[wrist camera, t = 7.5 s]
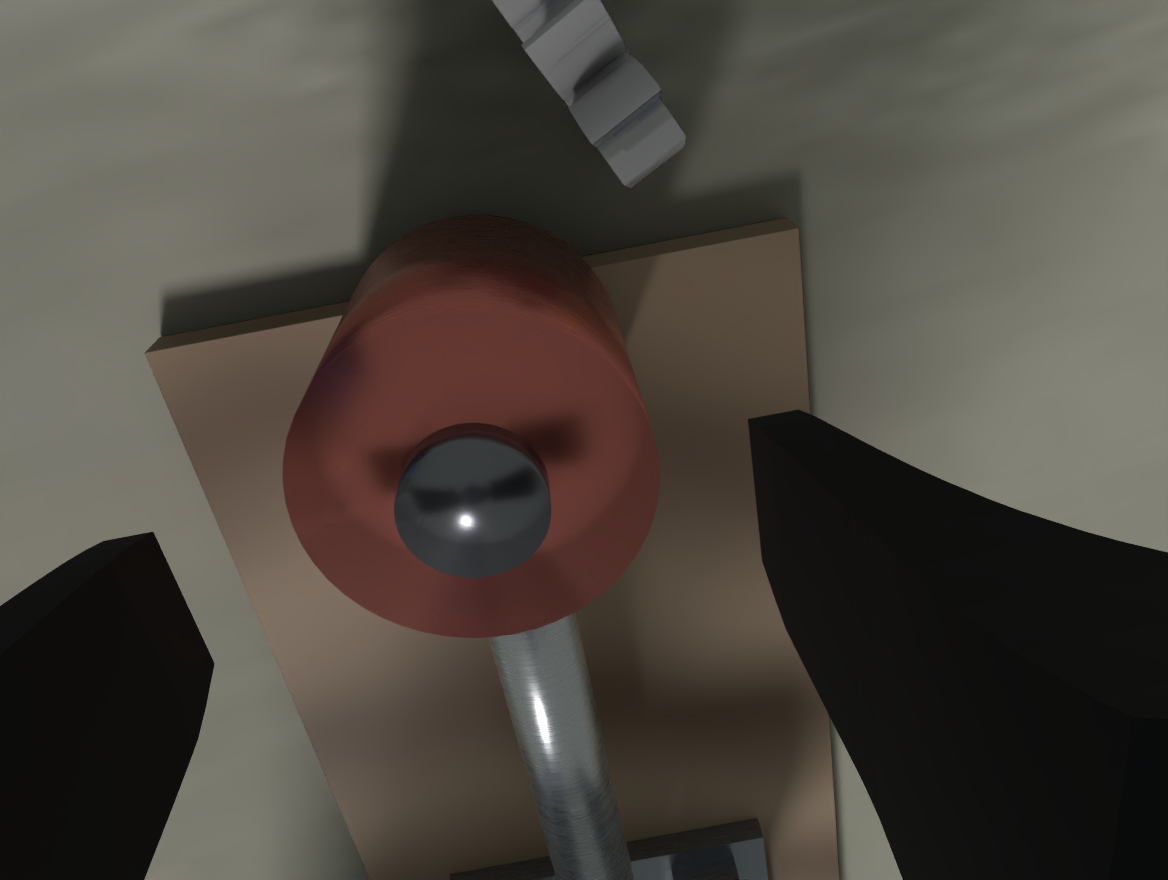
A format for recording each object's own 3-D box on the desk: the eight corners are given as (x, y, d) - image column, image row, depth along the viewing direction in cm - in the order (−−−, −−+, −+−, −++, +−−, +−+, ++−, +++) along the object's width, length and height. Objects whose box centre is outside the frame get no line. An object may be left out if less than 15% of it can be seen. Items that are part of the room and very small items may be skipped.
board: (834, 922, 27) (843, 948, 26) (433, 995, 27) (431, 1023, 26) (785, 217, 17) (798, 228, 16) (159, 337, 17) (144, 353, 16)
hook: (693, 785, 22) (747, 1020, 17) (491, 822, 22) (486, 1067, 17) (595, 190, 15) (637, 292, 10) (306, 245, 15) (211, 372, 11)
